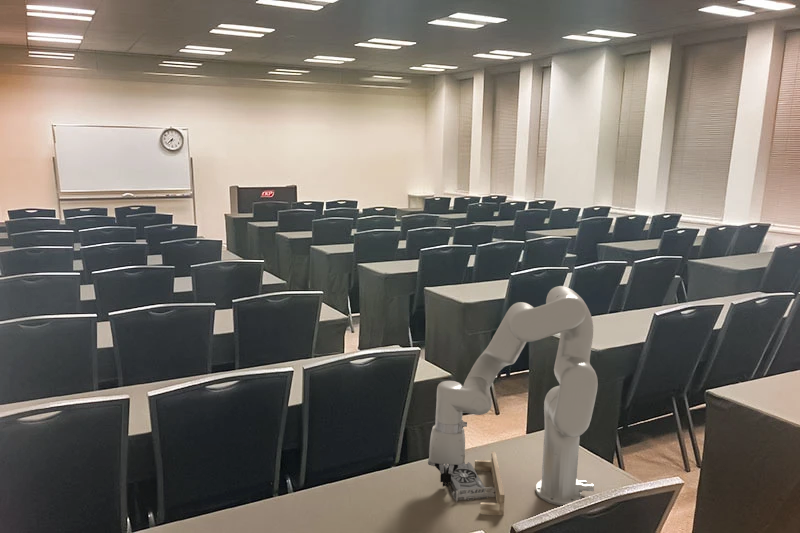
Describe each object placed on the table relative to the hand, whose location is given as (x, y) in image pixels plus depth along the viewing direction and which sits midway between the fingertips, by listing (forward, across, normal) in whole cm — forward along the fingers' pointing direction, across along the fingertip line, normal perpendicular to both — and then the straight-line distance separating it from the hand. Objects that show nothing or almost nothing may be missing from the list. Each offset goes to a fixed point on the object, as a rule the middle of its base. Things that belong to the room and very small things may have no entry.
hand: (445, 483), depth 163 cm
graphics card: (+2, -7, -3) cm, 8 cm away
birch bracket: (+1, -12, 0) cm, 12 cm away
